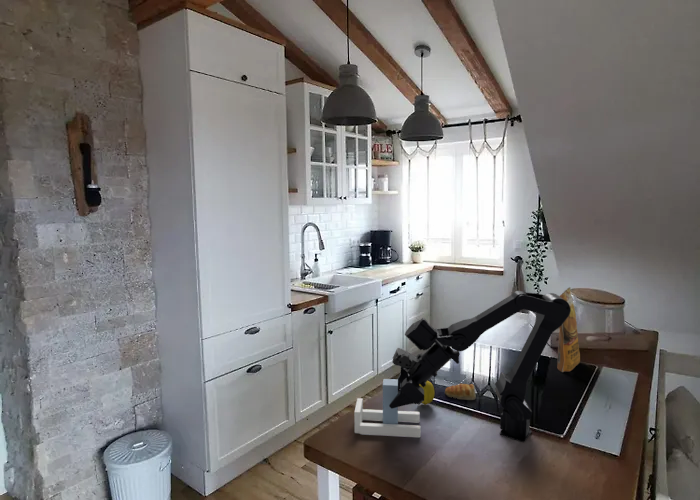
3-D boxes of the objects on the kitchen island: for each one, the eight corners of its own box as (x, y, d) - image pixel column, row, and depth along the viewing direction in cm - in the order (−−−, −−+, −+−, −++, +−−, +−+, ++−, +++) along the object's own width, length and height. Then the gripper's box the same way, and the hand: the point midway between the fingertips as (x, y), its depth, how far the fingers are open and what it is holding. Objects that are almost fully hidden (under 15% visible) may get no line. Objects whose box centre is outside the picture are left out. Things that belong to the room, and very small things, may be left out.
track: (419, 420, 127) (419, 400, 126) (420, 437, 118) (420, 416, 117) (357, 417, 129) (357, 397, 128) (354, 434, 120) (354, 412, 119)
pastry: (446, 400, 139) (446, 388, 138) (443, 390, 145) (443, 379, 145) (476, 401, 138) (477, 389, 137) (473, 391, 145) (473, 380, 144)
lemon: (434, 410, 132) (434, 384, 131) (415, 408, 133) (415, 383, 132) (434, 401, 138) (434, 376, 137) (416, 400, 139) (416, 375, 138)
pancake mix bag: (547, 370, 160) (551, 294, 156) (565, 355, 174) (569, 285, 170) (567, 375, 155) (572, 296, 151) (584, 360, 169) (588, 287, 165)
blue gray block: (397, 423, 125) (397, 379, 123) (397, 431, 121) (397, 385, 119) (383, 423, 125) (383, 378, 124) (382, 430, 121) (382, 385, 120)
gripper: (409, 329, 128) (372, 365, 131) (410, 352, 110) (366, 393, 113) (437, 356, 128) (399, 391, 131) (443, 384, 110) (398, 424, 113)
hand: (390, 399), depth 122 cm, fingers open, 9 cm apart
